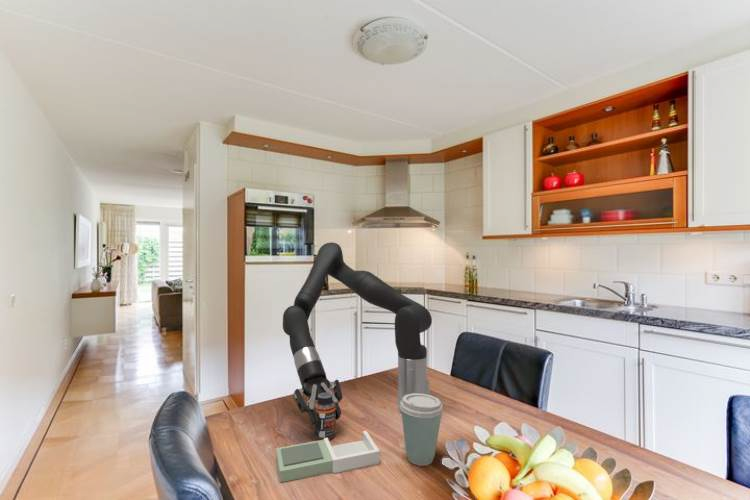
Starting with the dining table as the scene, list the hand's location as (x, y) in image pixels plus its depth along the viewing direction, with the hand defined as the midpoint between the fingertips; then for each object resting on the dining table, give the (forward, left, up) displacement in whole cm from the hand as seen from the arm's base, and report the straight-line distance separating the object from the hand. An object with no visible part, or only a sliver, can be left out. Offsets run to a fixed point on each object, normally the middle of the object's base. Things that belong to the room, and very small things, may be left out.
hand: (327, 421), depth 100 cm
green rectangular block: (+8, +10, -5) cm, 14 cm away
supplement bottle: (0, -2, -5) cm, 5 cm away
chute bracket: (-4, +10, -5) cm, 12 cm away
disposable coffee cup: (-20, +17, -5) cm, 27 cm away
